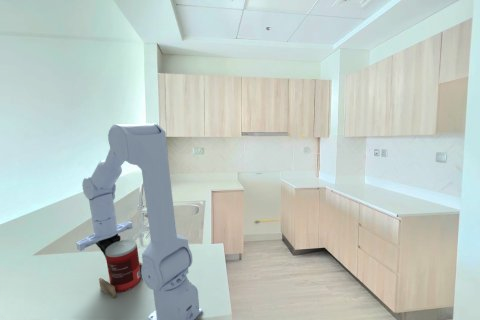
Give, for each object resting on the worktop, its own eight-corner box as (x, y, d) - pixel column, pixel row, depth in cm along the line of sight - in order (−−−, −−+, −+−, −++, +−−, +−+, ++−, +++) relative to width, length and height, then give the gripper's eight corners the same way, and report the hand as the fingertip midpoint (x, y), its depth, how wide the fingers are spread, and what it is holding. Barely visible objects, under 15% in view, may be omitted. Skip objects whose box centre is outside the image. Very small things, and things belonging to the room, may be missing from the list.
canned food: (133, 269, 68) (128, 236, 66) (146, 280, 63) (142, 244, 61) (106, 284, 62) (100, 248, 60) (118, 297, 57) (112, 258, 55)
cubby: (148, 275, 65) (147, 266, 65) (114, 298, 57) (112, 288, 56) (134, 268, 69) (133, 259, 68) (100, 288, 61) (98, 278, 60)
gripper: (121, 206, 72) (126, 245, 74) (68, 224, 60) (76, 270, 62) (134, 210, 68) (139, 251, 70) (80, 230, 56) (88, 279, 58)
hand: (110, 260), depth 66 cm, fingers closed
